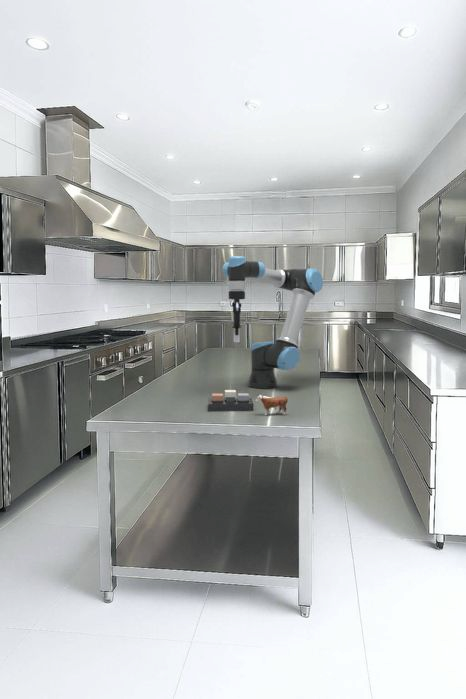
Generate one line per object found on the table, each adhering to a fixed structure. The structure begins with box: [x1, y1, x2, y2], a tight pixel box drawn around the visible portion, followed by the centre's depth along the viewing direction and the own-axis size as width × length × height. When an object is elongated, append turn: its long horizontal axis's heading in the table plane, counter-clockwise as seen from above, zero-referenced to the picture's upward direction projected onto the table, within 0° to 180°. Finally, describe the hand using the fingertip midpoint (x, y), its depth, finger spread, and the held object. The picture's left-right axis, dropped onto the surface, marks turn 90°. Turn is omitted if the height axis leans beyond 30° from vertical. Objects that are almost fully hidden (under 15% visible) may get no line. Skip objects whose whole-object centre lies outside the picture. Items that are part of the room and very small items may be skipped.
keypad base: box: [207, 397, 254, 412], centre depth 238 cm, size 19×12×3 cm, turn 92°
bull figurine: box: [254, 394, 288, 416], centre depth 227 cm, size 4×13×8 cm, turn 95°
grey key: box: [237, 392, 250, 402], centre depth 238 cm, size 5×5×5 cm
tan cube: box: [211, 393, 224, 402], centre depth 238 cm, size 5×5×5 cm
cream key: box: [224, 389, 237, 402], centre depth 238 cm, size 5×5×5 cm
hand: (236, 341), depth 255 cm, fingers closed
